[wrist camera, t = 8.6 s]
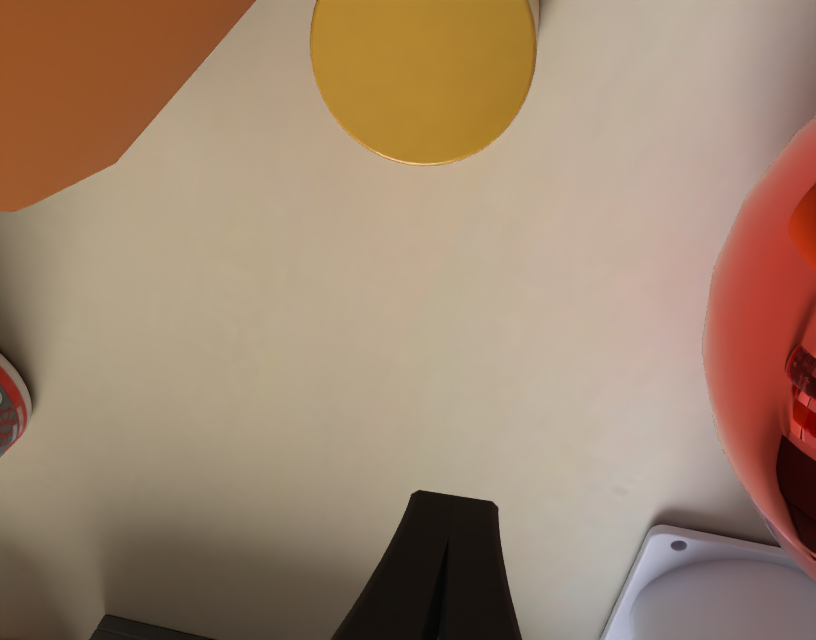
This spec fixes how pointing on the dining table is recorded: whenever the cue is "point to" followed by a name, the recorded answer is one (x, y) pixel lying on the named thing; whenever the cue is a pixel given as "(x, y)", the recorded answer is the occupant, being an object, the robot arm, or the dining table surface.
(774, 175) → the ball
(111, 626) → the dark drawer box
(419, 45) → the yellow cylinder
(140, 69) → the alarm clock
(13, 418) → the pill bottle
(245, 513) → the dining table surface
